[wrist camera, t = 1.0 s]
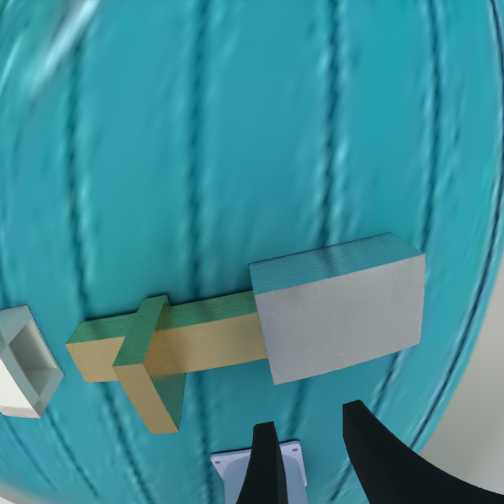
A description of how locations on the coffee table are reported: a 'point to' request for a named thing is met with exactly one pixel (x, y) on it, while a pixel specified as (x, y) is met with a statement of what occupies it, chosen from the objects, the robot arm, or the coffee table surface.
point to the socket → (25, 365)
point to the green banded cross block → (167, 350)
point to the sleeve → (339, 305)
